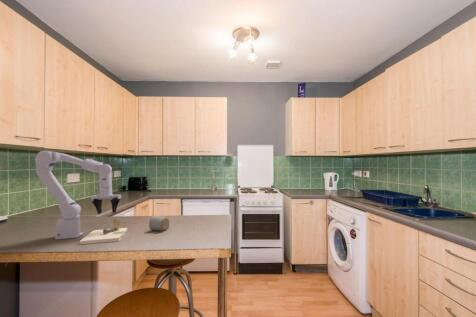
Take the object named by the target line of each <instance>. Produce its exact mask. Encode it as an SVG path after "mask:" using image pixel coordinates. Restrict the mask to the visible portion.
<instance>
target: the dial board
mask: <svg viewBox="0 0 476 317" xmlns="http://www.w3.org/2000/svg"><path fill="white" fill-rule="evenodd" d="M107 229H108V230H110V229H111V228H107ZM103 230H104V229H94V230H93V231H91V232H89V233H87V235H86V236H84V237H82V239H81V240H79V245H89V244H101V243H111V242H120V240H121V239H122V238H123V237H124V235H126V233H127V232H128V227H120V229H117V230H114V231H111V232H108V233H106V234H103ZM126 231H127V232H126ZM125 232H126V233H125ZM122 236H123V237H122ZM121 237H122V238H121Z"/></svg>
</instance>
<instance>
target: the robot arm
mask: <svg viewBox="0 0 476 317" xmlns="http://www.w3.org/2000/svg"><path fill="white" fill-rule="evenodd" d="M34 161H35V174H36V175H37V177H38V178H39V179H40V181H41V182H42V183H43V184H44V186H45V187H46V189H47V190H48V191H49V193H50V194H51V195H52V197H53V198H54V200H55V201H56V202H57V203H58V210H59V211H60V215H61V217H62V218H60V219H58V220H57V221H56V224H55V237H54V240H65V239H77V238H79V237H80V236H82V235H83V234H84V232H81V215H80V214H81V212H82V206H81V205H80V204H79V203H76V201H75V200H74V199H72V198H71V197H70V195H69V194H68V193H67V192H66V191H65V189H64V187H63V186H62V184H60V182H59V180H58V179H57V178H56V176H55V175H54V174H53V173H52V171H53V168H54V166H55V165H56V164H57V163H59V162H66V163H69V164H73V165H77V166H80V167H81V168H82V170H85V171H89V172H92V173H95V174H97V173H98V188H99V189H98V190H99V195H92V196H91V198H90V200H91V201H92V202H91V203H92V204H93V206H94V208H95V209H96V212H97V215H100V214H102V212H103V211H102V205H103V204H102V203H103V200H110V204H111V208H112V209H111V210H112V214H115V213H117V208H118V205H119V202H120V200H121V199H122V194H113V182H112V181H113V180H112V170H113V168H112V166H111V165H110V164H108V163H104V162H103V161H97V160H94V159H93V158H91V157H90V158H86V159H82V158H78V157H76V156H72V155H70V154H66V153H62V152H57V151H53V150H52V151H49V150H40V151H38V153H37V154H36V156H35V157H34Z"/></svg>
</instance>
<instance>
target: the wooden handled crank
mask: <svg viewBox="0 0 476 317" xmlns="http://www.w3.org/2000/svg"><path fill="white" fill-rule="evenodd" d="M120 219H121V218H115V219H113V227H112V228H105V229H102V230H103V234H106V233H108V232H111V231H114V230H117V229H120V228H121V226H120V224H121V222H120ZM108 229H110V230H108Z"/></svg>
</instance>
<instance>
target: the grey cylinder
mask: <svg viewBox="0 0 476 317" xmlns="http://www.w3.org/2000/svg"><path fill="white" fill-rule="evenodd" d="M148 226H149V227H148V228H149V229H150V230H151V231H158V230H159V231H161V232H164V230H165V231H166V230H168V228H169V227H170V220H169V217H166V216H161V215H155V214H154V215H152V217H150V219H149V222H148Z"/></svg>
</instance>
